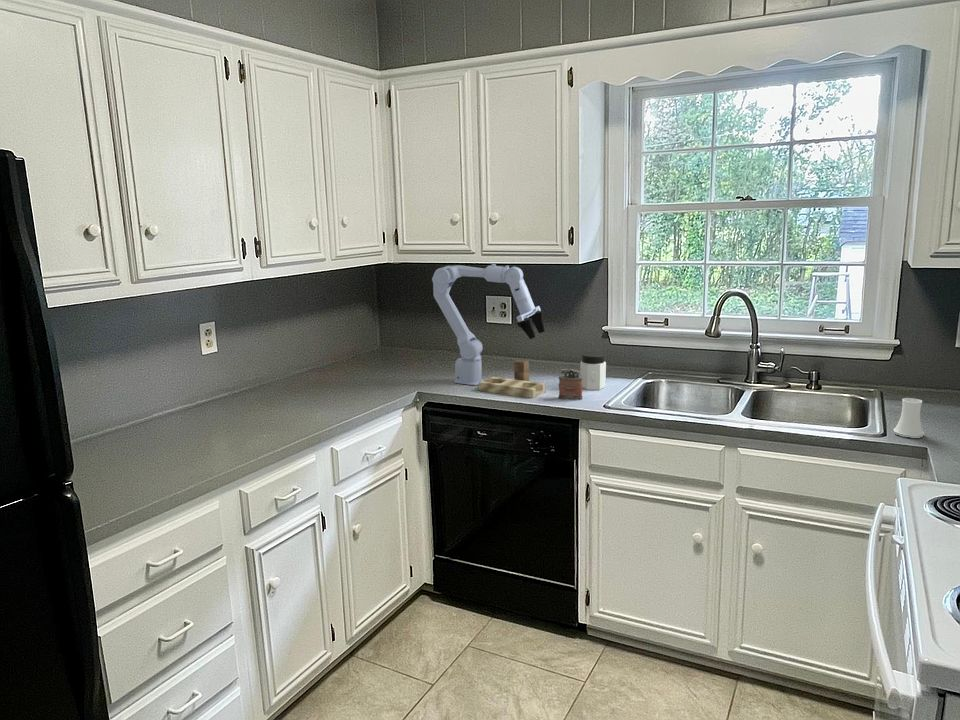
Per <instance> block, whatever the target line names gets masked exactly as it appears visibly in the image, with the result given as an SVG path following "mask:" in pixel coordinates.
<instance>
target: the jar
mask: <svg viewBox="0 0 960 720" xmlns="http://www.w3.org/2000/svg"><path fill="white" fill-rule="evenodd" d="M605 359H606V354H605V353H603V352H599V351H598V352H597V351H596V352H595V351H592V352H583V353H582V354H581V361H580V365H579V366H580V370H579V376H581V377H583V380H582V389H584V390H587V391H600V390H602V389H605V388H606V382H607V381H606V380H607V378H606V373H607V362H606V360H605Z"/></svg>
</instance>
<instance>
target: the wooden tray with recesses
mask: <svg viewBox="0 0 960 720" xmlns="http://www.w3.org/2000/svg"><path fill="white" fill-rule="evenodd" d="M478 391H480V392H485V391H486V393H495V394H500V393H501V395H510V396H515V397H521V396H522V397H523V398H528V397H529V399H535V398H536V397H538V396H540V395H542V394H543V393H546V383H545V382H537V381H530V380H529V381H523V380H515V379H514V378H513V379H512V378H506V377H497V376H490V377H488V378H486V379H484V380H483V381H481V382H479V384H478ZM522 397H521V398H522Z"/></svg>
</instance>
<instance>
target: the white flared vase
mask: <svg viewBox="0 0 960 720" xmlns="http://www.w3.org/2000/svg"><path fill="white" fill-rule="evenodd" d="M901 401H902V406H901V407H902V408H901V413H900V417H899V420H898V422H897V424H896V426H895V427H894V428H893V429H892V430H894V432H896V433H899V434H903V435H908V436H922V435H924V436H925V432H924V430H923V427H922V424H921V409H922V408H921V407H922V404H923V400H922V399H918V398H915V397H913V398H912V397H904V398H902V399H901Z"/></svg>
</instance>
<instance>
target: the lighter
mask: <svg viewBox="0 0 960 720" xmlns="http://www.w3.org/2000/svg"><path fill="white" fill-rule="evenodd" d="M560 374H564V375H558V382H559V383H558V384H559V385H558V387H559V388H558V390H559V392H558V399H560V400H570V401H572V400H573V401H575V400H576V401H581V400H583V388H582V380H583V377H581V376H580V370H575V369H573V368H571V369H562V368H561V369H560Z"/></svg>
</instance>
